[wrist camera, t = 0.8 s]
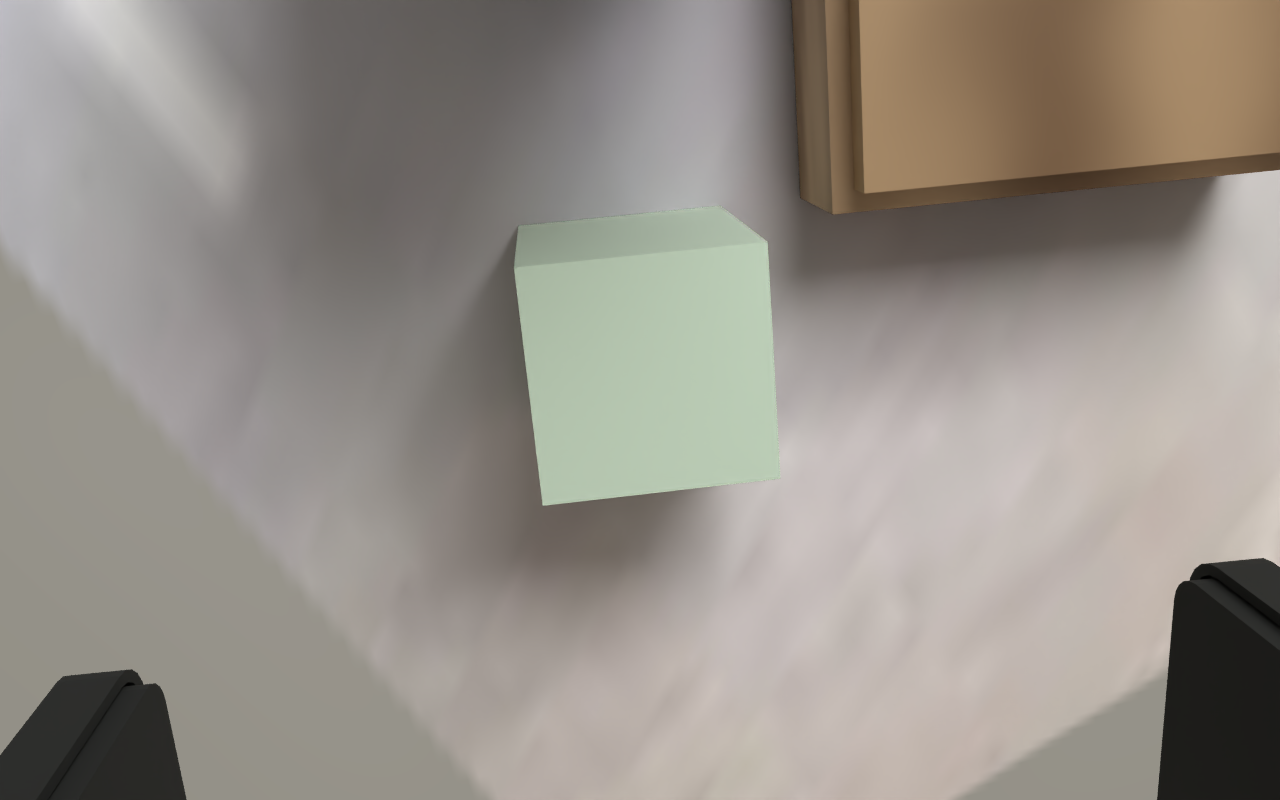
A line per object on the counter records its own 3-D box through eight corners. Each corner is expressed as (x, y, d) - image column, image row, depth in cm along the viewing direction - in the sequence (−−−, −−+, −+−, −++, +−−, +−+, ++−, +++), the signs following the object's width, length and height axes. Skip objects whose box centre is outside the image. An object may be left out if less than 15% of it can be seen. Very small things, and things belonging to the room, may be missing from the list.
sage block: (719, 205, 28) (767, 241, 22) (732, 397, 29) (780, 478, 24) (518, 225, 28) (513, 267, 22) (541, 418, 29) (543, 505, 23)
